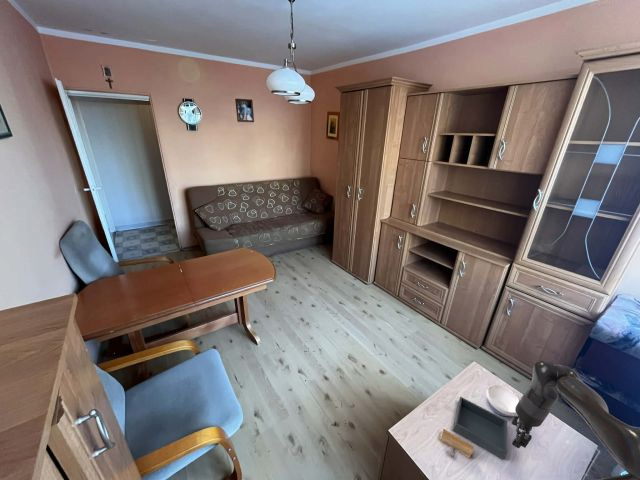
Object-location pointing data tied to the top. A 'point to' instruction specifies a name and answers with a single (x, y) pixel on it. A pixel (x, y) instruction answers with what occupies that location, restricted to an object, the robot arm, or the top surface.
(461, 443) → the wooden block
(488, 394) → the bowl
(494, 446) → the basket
